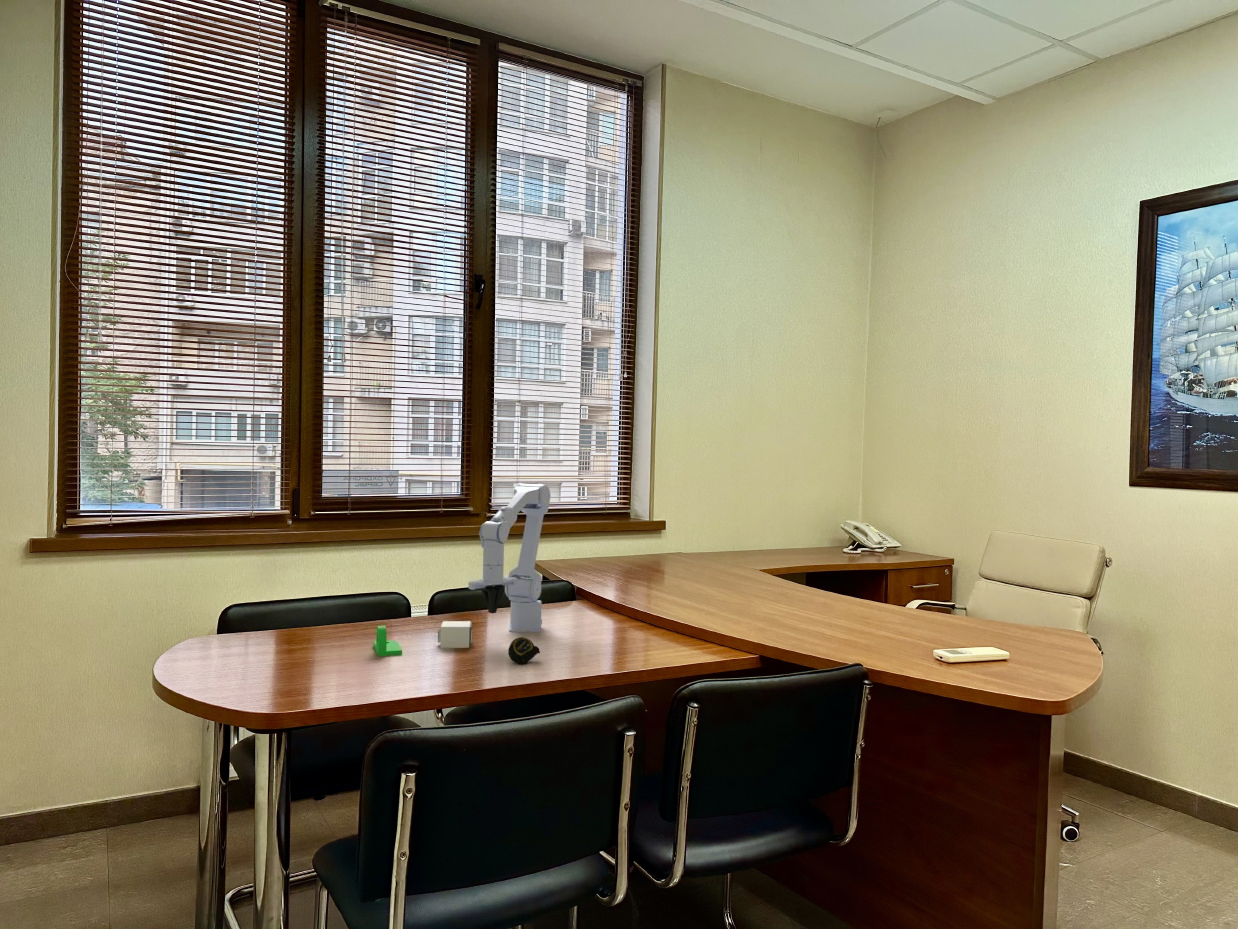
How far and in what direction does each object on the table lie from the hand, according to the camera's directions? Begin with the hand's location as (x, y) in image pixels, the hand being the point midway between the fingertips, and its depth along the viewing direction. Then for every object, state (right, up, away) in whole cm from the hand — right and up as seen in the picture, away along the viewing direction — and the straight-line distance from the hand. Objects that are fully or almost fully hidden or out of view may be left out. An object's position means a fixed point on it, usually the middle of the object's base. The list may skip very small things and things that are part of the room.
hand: (492, 612), depth 243 cm
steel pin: (-10, -7, -5) cm, 13 cm away
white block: (-9, -9, -5) cm, 14 cm away
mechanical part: (-26, -9, -13) cm, 30 cm away
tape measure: (+11, -10, -22) cm, 26 cm away
